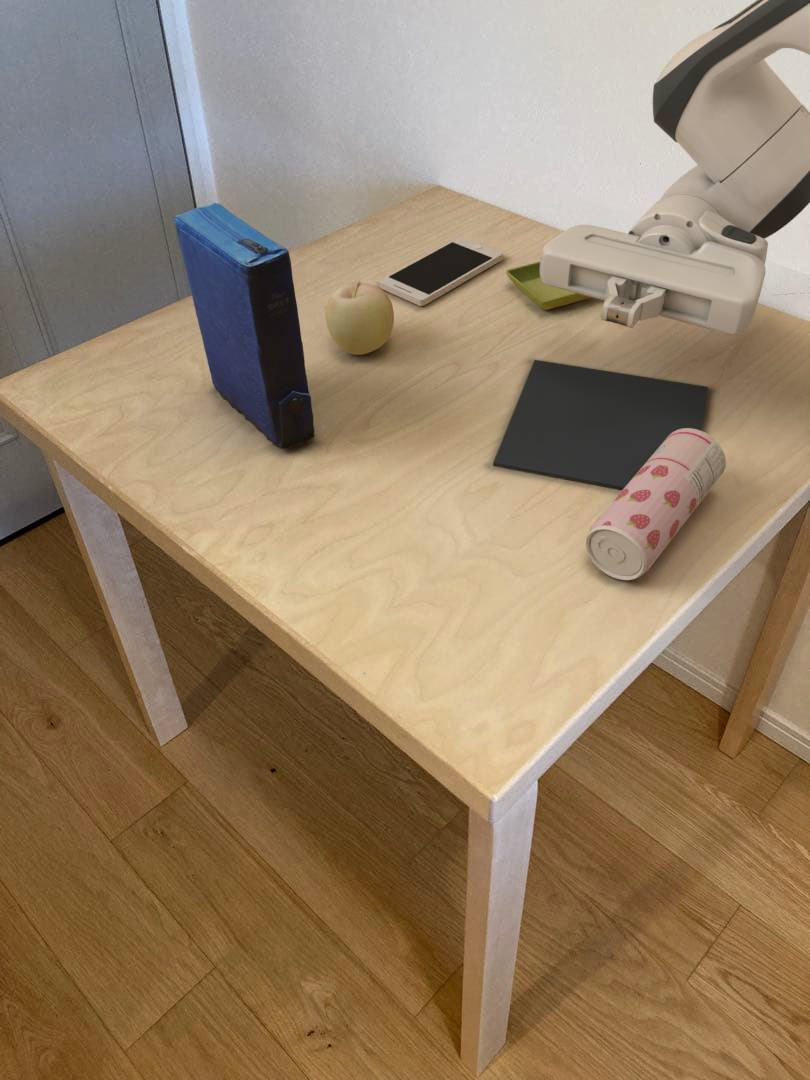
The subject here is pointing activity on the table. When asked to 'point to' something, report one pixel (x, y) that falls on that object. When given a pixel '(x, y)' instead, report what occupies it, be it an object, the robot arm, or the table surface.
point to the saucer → (541, 287)
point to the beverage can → (655, 504)
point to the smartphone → (440, 271)
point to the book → (248, 321)
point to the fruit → (359, 317)
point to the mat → (594, 423)
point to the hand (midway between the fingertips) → (617, 316)
